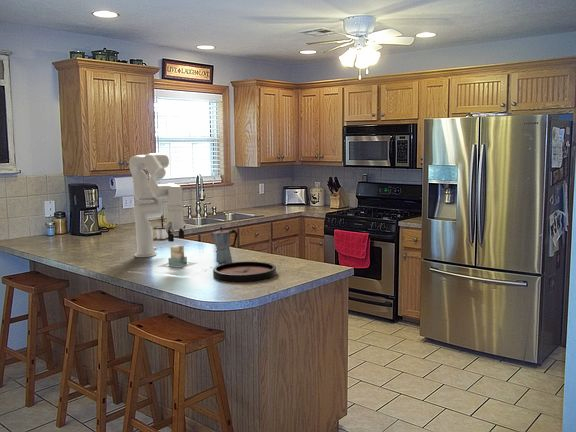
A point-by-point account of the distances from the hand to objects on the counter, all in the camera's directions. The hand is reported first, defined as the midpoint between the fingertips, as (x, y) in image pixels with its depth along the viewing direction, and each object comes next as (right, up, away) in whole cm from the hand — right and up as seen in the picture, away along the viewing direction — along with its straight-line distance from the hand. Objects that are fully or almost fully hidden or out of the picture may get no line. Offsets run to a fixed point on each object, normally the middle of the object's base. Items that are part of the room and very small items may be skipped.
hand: (176, 239), depth 301 cm
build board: (+1, -15, +1) cm, 15 cm away
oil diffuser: (-29, -4, +98) cm, 102 cm away
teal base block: (+1, -13, +1) cm, 14 cm away
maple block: (0, -10, +1) cm, 10 cm away
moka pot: (+25, -13, +10) cm, 30 cm away
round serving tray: (+39, -17, -21) cm, 47 cm away
